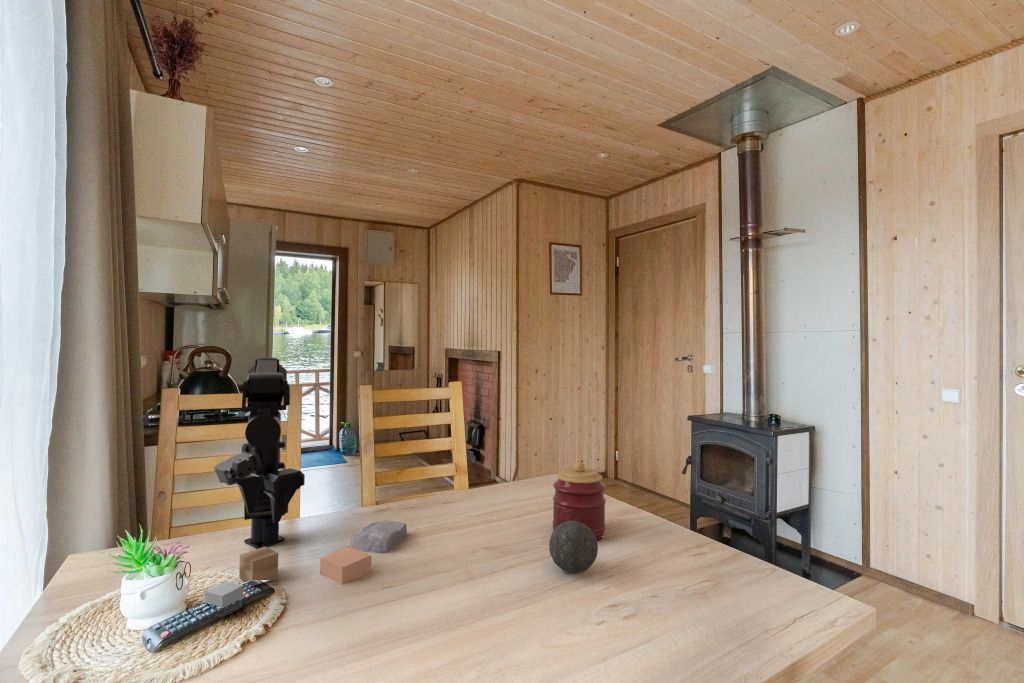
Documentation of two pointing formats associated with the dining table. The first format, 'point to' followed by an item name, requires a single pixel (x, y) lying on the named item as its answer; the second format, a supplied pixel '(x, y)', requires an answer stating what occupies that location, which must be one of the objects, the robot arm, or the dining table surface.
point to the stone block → (379, 536)
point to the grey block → (224, 594)
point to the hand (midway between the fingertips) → (263, 517)
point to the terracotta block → (345, 565)
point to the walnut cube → (259, 565)
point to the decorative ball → (573, 546)
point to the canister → (580, 498)
